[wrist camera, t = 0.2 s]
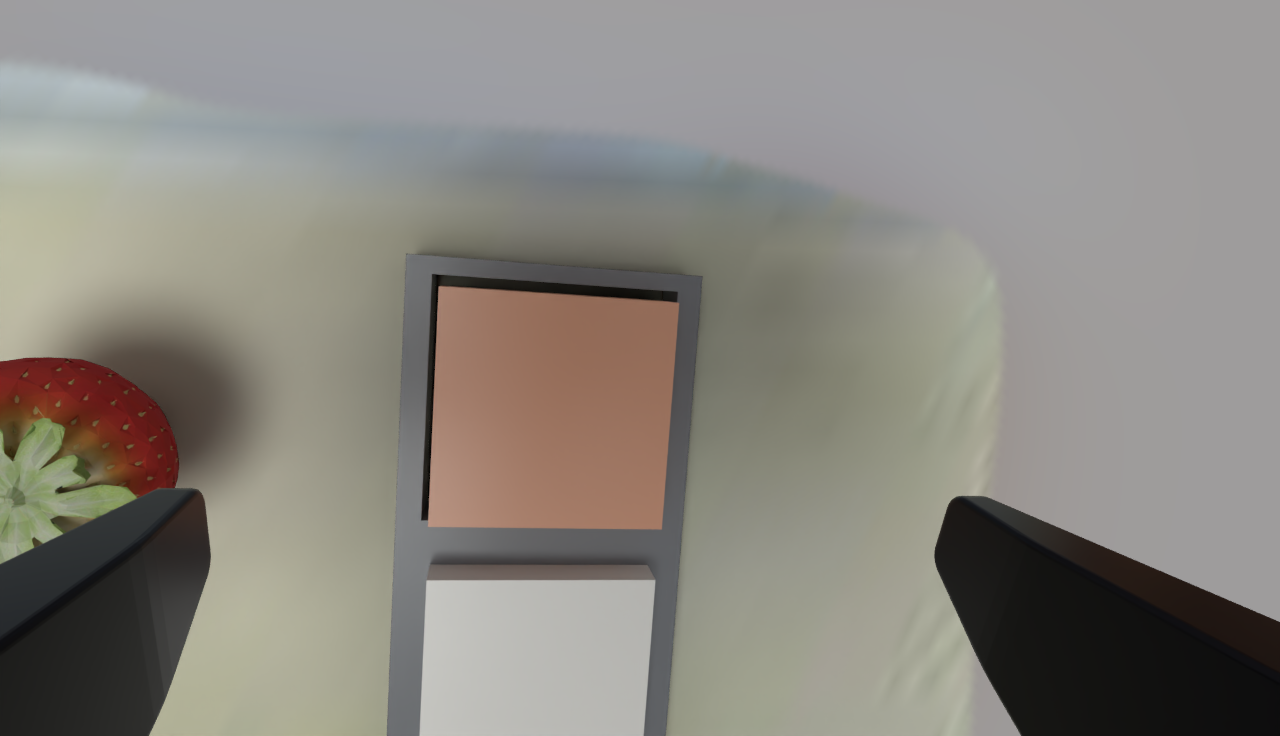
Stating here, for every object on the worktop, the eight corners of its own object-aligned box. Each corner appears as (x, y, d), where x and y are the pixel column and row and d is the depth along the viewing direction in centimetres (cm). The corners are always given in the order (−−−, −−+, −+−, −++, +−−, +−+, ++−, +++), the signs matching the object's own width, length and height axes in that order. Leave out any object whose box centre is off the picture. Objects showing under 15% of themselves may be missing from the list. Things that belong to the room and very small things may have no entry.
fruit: (159, 552, 23) (-14, 696, 15) (-13, 445, 22) (-300, 542, 14) (269, 415, 23) (154, 487, 15) (103, 302, 22) (-116, 316, 14)
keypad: (635, 922, 27) (654, 1006, 24) (384, 944, 25) (370, 1038, 22) (685, 276, 25) (713, 276, 22) (413, 255, 23) (401, 252, 20)
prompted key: (648, 508, 24) (661, 529, 22) (433, 505, 23) (427, 526, 21) (663, 300, 23) (679, 302, 21) (443, 285, 22) (438, 286, 20)
